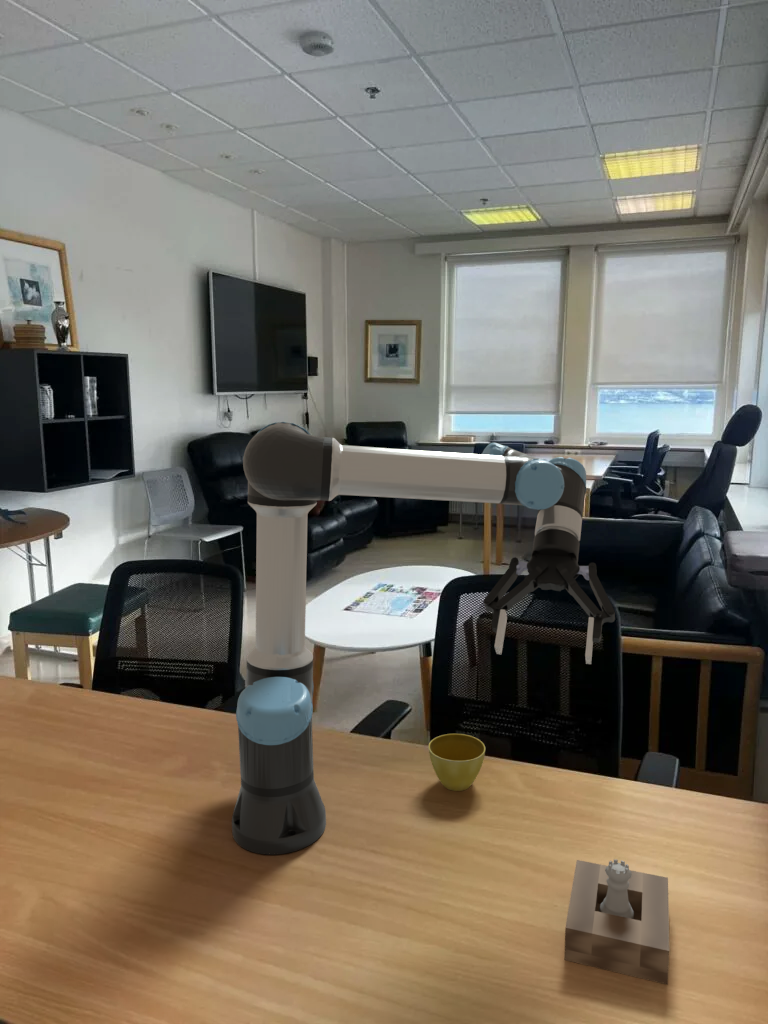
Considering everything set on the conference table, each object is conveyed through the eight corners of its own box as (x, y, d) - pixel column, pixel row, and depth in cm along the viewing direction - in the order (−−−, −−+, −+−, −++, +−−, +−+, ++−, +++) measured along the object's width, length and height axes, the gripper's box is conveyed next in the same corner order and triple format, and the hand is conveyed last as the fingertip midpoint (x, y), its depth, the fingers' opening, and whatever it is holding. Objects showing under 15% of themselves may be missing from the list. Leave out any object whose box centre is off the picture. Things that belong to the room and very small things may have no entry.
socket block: (564, 959, 93) (565, 927, 92) (575, 888, 106) (576, 859, 105) (667, 984, 89) (669, 951, 88) (666, 907, 102) (667, 877, 101)
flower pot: (483, 801, 128) (484, 762, 127) (425, 796, 130) (425, 758, 129) (486, 771, 138) (486, 735, 137) (431, 767, 140) (431, 731, 138)
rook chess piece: (636, 935, 95) (639, 878, 93) (600, 931, 95) (602, 874, 94) (631, 911, 99) (634, 856, 98) (596, 907, 100) (598, 853, 98)
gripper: (635, 556, 124) (627, 674, 113) (486, 547, 132) (466, 656, 121) (635, 530, 118) (628, 653, 107) (480, 523, 127) (458, 635, 115)
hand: (542, 655), depth 114 cm, fingers open, 13 cm apart
